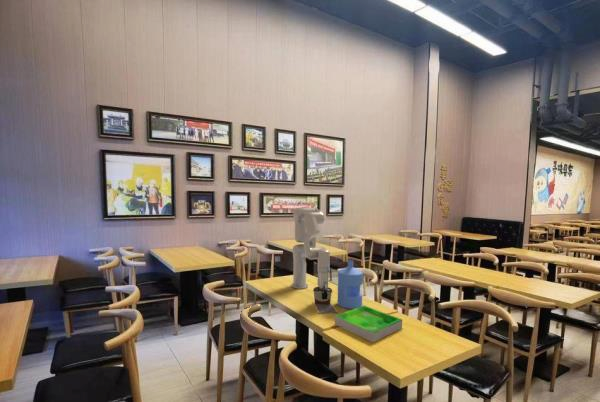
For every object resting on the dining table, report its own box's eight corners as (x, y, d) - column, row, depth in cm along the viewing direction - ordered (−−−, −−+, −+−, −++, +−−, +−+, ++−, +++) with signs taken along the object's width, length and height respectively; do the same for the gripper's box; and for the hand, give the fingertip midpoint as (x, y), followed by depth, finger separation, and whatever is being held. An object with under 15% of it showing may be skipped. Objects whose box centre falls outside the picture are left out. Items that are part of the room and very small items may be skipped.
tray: (334, 325, 163) (334, 316, 163) (363, 313, 180) (364, 305, 179) (373, 343, 144) (373, 332, 144) (402, 328, 160) (402, 319, 160)
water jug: (332, 303, 193) (333, 260, 192) (348, 298, 204) (349, 256, 203) (351, 311, 181) (352, 264, 181) (367, 305, 192) (368, 261, 191)
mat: (312, 302, 195) (312, 301, 195) (330, 301, 197) (330, 301, 197) (318, 313, 177) (318, 312, 177) (338, 312, 179) (338, 311, 179)
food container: (332, 302, 195) (332, 286, 195) (332, 305, 189) (332, 289, 189) (312, 301, 196) (313, 285, 196) (312, 304, 190) (312, 288, 190)
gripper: (314, 266, 199) (314, 292, 200) (320, 273, 182) (320, 301, 183) (325, 265, 200) (325, 291, 201) (332, 272, 183) (332, 301, 184)
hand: (322, 296), depth 192 cm, fingers open, 8 cm apart
